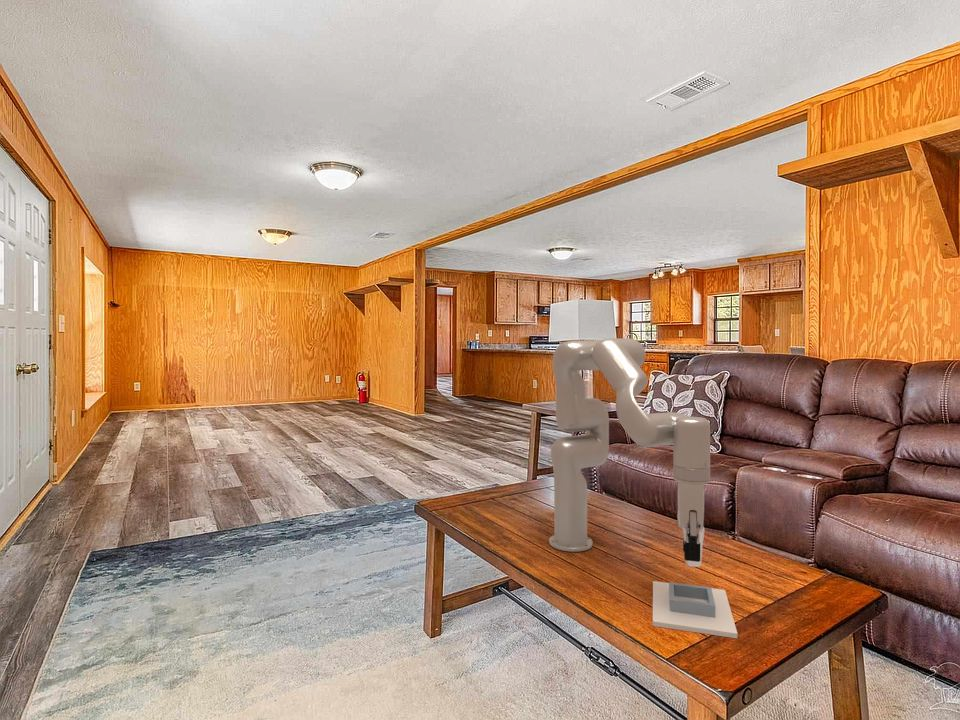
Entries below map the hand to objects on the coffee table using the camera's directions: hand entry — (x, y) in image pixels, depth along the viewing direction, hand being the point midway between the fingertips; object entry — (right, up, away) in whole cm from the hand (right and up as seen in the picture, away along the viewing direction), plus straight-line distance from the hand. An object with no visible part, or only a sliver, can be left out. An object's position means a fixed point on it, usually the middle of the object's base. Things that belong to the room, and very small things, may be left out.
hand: (691, 555), depth 118 cm
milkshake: (0, -2, 0) cm, 2 cm away
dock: (0, -12, 0) cm, 12 cm away
